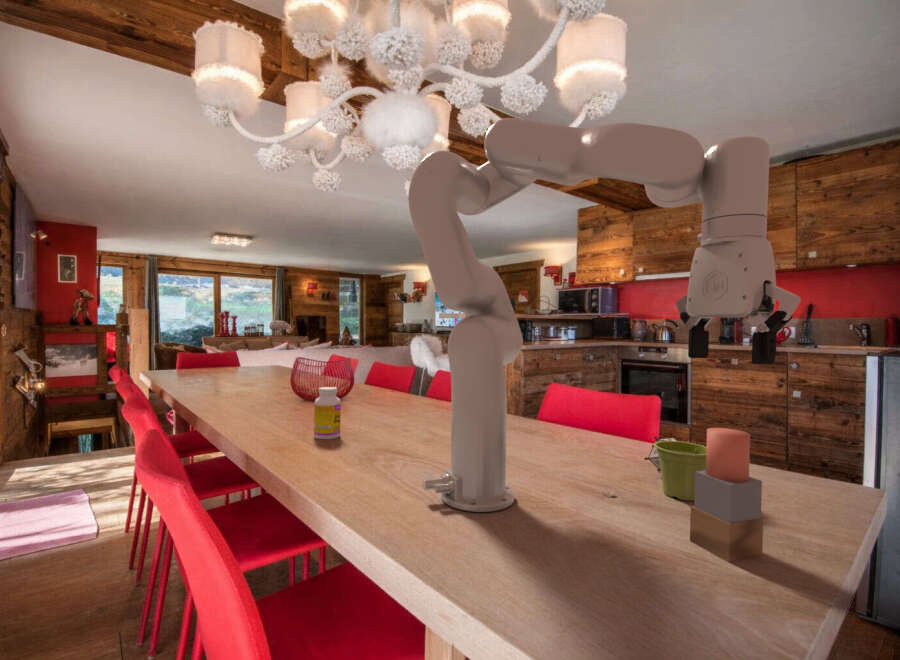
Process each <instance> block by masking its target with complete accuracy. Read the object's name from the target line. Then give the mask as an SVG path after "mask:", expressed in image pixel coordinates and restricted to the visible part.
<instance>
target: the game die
mask: <svg viewBox="0 0 900 660" xmlns="http://www.w3.org/2000/svg"><path fill="white" fill-rule="evenodd" d="M653 439H654V440H655V442H654V443H653V444H651V448H652V449H650V450H651V451H650V452H649V455H648V457H644V458H643V460H645V461H648V460H649V461H650V463H652V464H653V466H655V467H656V468H657V471H658V472H661V467H660V460H659V456H658V454H657V448H655V446H654V444H655V443H656V442H660V441H678V440H677V439H676V435H675V434H672V435H671V437H668V438H667V437H666V438H665V437H664V438H658V437H657V436H656V435H653ZM679 441H680V442H683V440H679Z"/></svg>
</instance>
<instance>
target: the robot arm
mask: <svg viewBox="0 0 900 660" xmlns="http://www.w3.org/2000/svg"><path fill="white" fill-rule="evenodd" d="M483 147H484V148H483V149H484V154H485V156H486V159H487V162H485V163H483V164H482V165H479V167H475V166H474V165H473V164H472V163H470V162H469V161H468V160H466V159H465V157H462V156H461V155H459V154H457V153H455V152H452V151H448V150H437V151H432V152H431V153H429V154H427V155H426V156H425V157H424V158H423V159H421V161H420V162H419V163H418V165H417V166H416V168H415V170H414V172H413V174H412V177H411V180H410V182H409V188H408V197H407V198H408V200H407V201H408V207H409V213H410V218H411V221H412V225H413V227H414V230H415V232H416V235H417V237H418V240H419V243H420V246H421V248H422V249H421V250H422V252H423V256H424V259H425V261H426V265H427V267H428V271H429V274H430V276H431V277H430V278H431V280H432V283H433V287H434V289H435V292H436V295H437V298H438V299H439V302H440V303H441V304H442V305H443V306H444V307H445V308H447V309H448V310H451V311H454V312H461V313H464V316H465V317H464V318H462V319H461V320H458V322H457V323H456V324H455V325H454V326H453V327H452V329H451V331H450V333H449V335H448V336H449V337H448V339H447V357H448V363H449V372H450V382H451V383H450V385H451V386H450V388H451V395H450V397H451V401H450V403H451V404H450V405H451V406H450V407H451V425H450V426H451V427H450V429H451V431H450V468H446V469H445V471H444V473H445V474H441V475H440V477H424V478H423V479H422V487H423V490H424V491H428V490H429V491H430V490H434V493H435V494H440V497H441V500H442V501H443V502H444V503H445V504H446V505H447V506H450V507H451V508H454V509H457V510H461V511H464V512H465V511H466V512H475V513H490V512H497V511H500V510H501V511H502V510H504V509H506V508H509V507H510V506H512V505H513V504H514V501H515V492H514V490H513V489H512V488H511V487H509V486H508V485H506V475H507V474H506V473H507V471H506V470H507V469H506V468H507V423H508V422H507V419H508V417H507V416H508V415H507V414H508V411H507V410H508V407H507V403H508V401H507V399H508V398H507V397H508V396H507V395H508V394H507V393H508V392H507V382H506V381H507V380H506V376H505V375H506V374H505V366H507V365H509V364H511V363H513V361H515V360H516V359H517V358H518V356H519V355H520V353H521V351H522V348H523V347H522V346H523V336H522V335H523V334H522V331H521V327H520V325H519V322H518V321H519V320H518V318H517V315H516V313H515V310H514V307H513V306H512V303H511V300H510V297H509V294H508V292H507V289H506V286H505V283H504V282H503V280H502V278H501V276H500V275H499V274H498V272H496V270H494V269H493V267H491V266H489V265H487V264H486V263H482V262H480V261H479V260H478V258H477V256H476V254H475V252H474V249H473V247H472V244H471V242H470V238H469V235H468V232H467V230H466V227H465V226H464V224H463V222H462V220H461V218H460V216H459V214H462V215H464V216H476V215H480V214H482V213H484V212H486V211H488V210H491V209H492V208H494V207H495V206H497V205H499V204H501V203H502V202H504V201H506V200H507V199H510V198H511V197H513V196H515V195H517V194H518V193H520V192H522V191H523V190H524V189H526V188H527V187H529V186H531V185H532V184H534V182H536V181H537V180H539V181H540V180H541V181H544V182H550V183H554V184H559V185H561V186H567V187H570V186H572V187H573V186H577V185H579V184H581V183H583V182H584V181H586V180H590V179H598V178H601V179H602V178H604V179H612V180H613V179H614V180H615V179H616V180H619V181H620V180H621V181H625V182H631V183H634V184H635V183H636V184H640V185H644V190H645V194H646V197H647V198H648V199H649V200H650V202H651V203H652V204H653V205H656V206H658V207H660V208H666V209H672V208H679V207H686V206H688V205H694V204H699V203H701V205H702V209H701V212H702V213H701V229H700V230H701V232H699V233H698V234H697V235H696V237H697V238H696V239H697V241H698V243H700V246H699V247H696V248H695V251H694V254H693V258H692V260H691V261H692V262H691V267H690V272H689V277H688V278H689V279H688V286H687V294H686V295H684V296H683V297H681V298H680V299H678V300H677V301H676V304H675V305H676V308H677V311H678V313H679V314H680V315H679V318H680V320H681V321H682V322H683V324H684V328H685V330H686V331H688V345H687V346H688V347H687V349H688V350H687V357H688V358H690V359H707V358H708V357H709V347H710V346H709V343H710V342H709V341H710V333H709V332H710V331H709V330H706V328H707V327H708V326H709V325H710V323H711V322H712V321H713V319H714V318H719V319H742V318H743V319H749V320H750V321H751V323H752V324H753V326H754V327H755V328H756V329H757V332H753V333H752V342H751V362H752V364H754V365H774V364H775V362H776V361H775V359H776V356H777V337H778V334H779V333H781V332H782V331H783V327H785V326H786V325H787V324H788V323H789V322H790V321H791V320H792V319H793V314H794V313H795V311H796V310H797V308H798V307H799V305H800V303H801V301H802V299H801V297H800V296H799V295H798V294H795V293H794V292H791V291H788V290H786V289H784V288H782V287H780V286H778V285H777V278H776V276H777V275H776V263H775V258H774V251H773V247H772V243H771V241H770V240H768V239H767V235H768V233H767V231H768V205H769V203H768V202H769V179H770V178H769V177H770V147H769V143H768V142H767V141H766V140H765V139H763V138H761V137H758V136H753V135H752V136H739V137H731V138H728V139H725V140H722V141H719V142H717V143H714V144H713V145H712V146H711V147H710V148H709V149H708V150H707V151H706V153H705V150H704V147H703V145H702V144H701V142H700V141H699V140H698V138H696V137H695V136H694V135H692V134H690V133H687V132H685V131H682V130H678V129H674V128H669V127H665V126H658V125H650V124H644V123H643V124H642V123H634V122H617V123H611V124H610V123H609V124H605V125H595V126H591V127H589V128H584V127H575V126H568V125H564V124H563V125H561V124H556V123H549V122H544V121H537V120H532V119H524V118H517V117H505V118H501V119H498V120H496V121H495V122H493V123H492V124H491V125H490V126H489V128H488V130H487V131H486V133H485V136H484V141H483ZM776 301H777V302H778V303H779V306H778V307H777V310H775V308H776Z"/></svg>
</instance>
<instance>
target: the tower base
mask: <svg viewBox="0 0 900 660" xmlns="http://www.w3.org/2000/svg"><path fill="white" fill-rule="evenodd" d="M689 517H690V518H689V519H690V523H689V525H690V526H689V542H691V543H693V544H695V545H696V546H698V547H700V548H702V549H703V550H705V551H707V552H709V553H710V554H712V555H714V556H716V557H717V558H719V559H722V560H723V561H724V562H727V563H733V562H738V561H743V560H747V559H752V558H757V557H761V556H763V552H764V551H763V546H764V545H763V543H764V540H763V539H764V518H763V517H761V519H755V520H749V521H742V522H736V523H730V524H729V523H727V522H725V521H723V520H721V519H719V518H717V517H715V516H712V515H710V514H708V513H706V512H704V511H702V510H700V509H698V508H695V507H694V505H691V506H690V516H689Z"/></svg>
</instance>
